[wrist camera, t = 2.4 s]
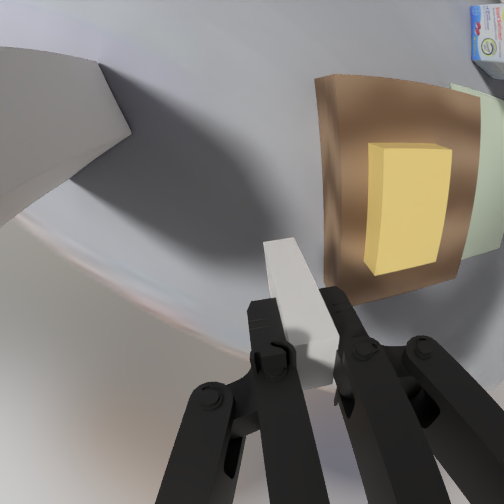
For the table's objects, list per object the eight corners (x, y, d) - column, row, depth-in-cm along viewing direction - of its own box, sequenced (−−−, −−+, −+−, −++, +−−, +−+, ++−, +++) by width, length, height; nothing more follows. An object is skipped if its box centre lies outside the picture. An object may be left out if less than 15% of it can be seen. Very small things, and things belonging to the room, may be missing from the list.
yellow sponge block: (368, 142, 15) (383, 148, 14) (434, 143, 15) (452, 149, 14) (363, 261, 20) (374, 275, 18) (423, 249, 20) (435, 261, 18)
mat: (449, 83, 16) (452, 83, 16) (516, 105, 16) (518, 106, 16) (433, 265, 26) (435, 266, 26) (497, 247, 26) (499, 248, 26)
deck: (314, 79, 17) (334, 74, 13) (450, 93, 17) (480, 97, 13) (323, 281, 26) (337, 309, 22) (435, 257, 26) (455, 277, 22)
